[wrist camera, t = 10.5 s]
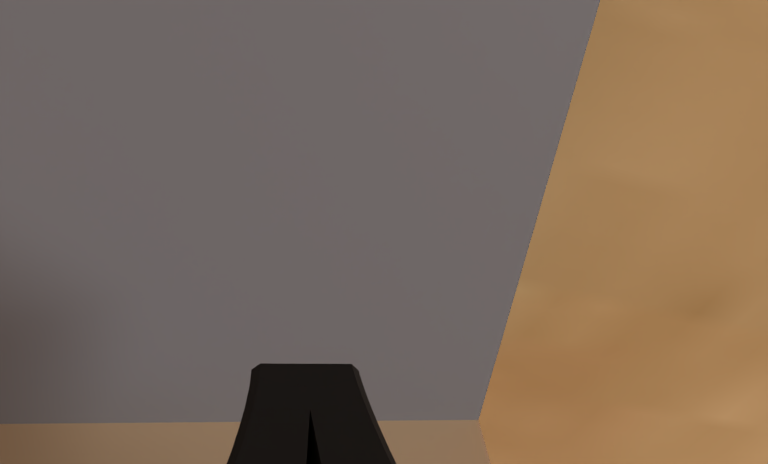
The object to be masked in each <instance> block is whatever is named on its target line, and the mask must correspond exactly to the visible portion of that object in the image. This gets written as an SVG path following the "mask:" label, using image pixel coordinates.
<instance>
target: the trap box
mask: <svg viewBox="0 0 768 464" xmlns="http://www.w3.org/2000/svg"><path fill="white" fill-rule="evenodd" d="M599 2H600V0H0V464H227V461H228V459H229V456H230V454H231V451H232V448H233V445H234V441H235V438H236V435H237V432H238V429H239V426H240V423H241V419H242V416H243V412H244V408H245V404H246V400H247V395H248V391H249V385H250V377H251V370H252V369H253V368H255V367H256V366H257V365H259V364H260V363H271V364H352V365H353V366H354V367H355V368H357V369H358V370H359V374H360V377H361V380H362V383H363V386H364V389H365V392H366V394H367V397H368V400H369V402H370V405H371V408H372V410H373V413H374V415H375V417H376V420H377V422H378V425H379V427H380V429H381V431H382V434H383V436H384V438H385V440H386V443H387V445H388V447H389V449H390V451H391V453H392V456H393V458H394V460H395V462H396V464H491V463H490V460H489V456H488V453H487V449H486V445H485V442H484V438H483V435H482V431H481V428H480V424H479V421H478V419H479V416H480V412H481V409H482V405H483V402H484V399H485V395H486V392H487V388H488V385H489V381H490V378H491V374H492V371H493V367H494V364H495V361H496V357H497V354H498V350H499V347H500V343H501V340H502V336H503V333H504V330H505V326H506V323H507V319H508V316H509V312H510V309H511V305H512V302H513V299H514V295H515V292H516V288H517V285H518V281H519V278H520V274H521V271H522V268H523V264H524V261H525V257H526V254H527V250H528V247H529V243H530V240H531V237H532V233H533V230H534V226H535V223H536V219H537V216H538V212H539V209H540V206H541V202H542V199H543V195H544V192H545V188H546V185H547V181H548V178H549V175H550V171H551V168H552V164H553V161H554V157H555V154H556V150H557V147H558V143H559V140H560V137H561V133H562V130H563V126H564V123H565V119H566V116H567V112H568V109H569V106H570V102H571V99H572V95H573V92H574V88H575V85H576V81H577V78H578V75H579V71H580V68H581V64H582V61H583V57H584V54H585V50H586V47H587V44H588V40H589V37H590V33H591V30H592V26H593V23H594V19H595V16H596V13H597V9H598V6H599Z"/></svg>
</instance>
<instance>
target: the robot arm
mask: <svg viewBox="0 0 768 464" xmlns="http://www.w3.org/2000/svg"><path fill="white" fill-rule="evenodd" d="M227 464H396V462H395V460H394V458H393V456H392V453H391V451H390V449H389V447H388V445H387V443H386V440H385V438H384V436H383V434H382V431H381V429H380V427H379V425H378V422H377V420H376V417H375V415H374V413H373V410H372V408H371V405H370V402H369V400H368V397H367V394H366V392H365V389H364V386H363V383H362V380H361V377H360V374H359V370H358V369H357V368H355V367H354V366H353V365H352V364H271V363H260V364H259V365H257V366H256V367H255V368H253V369H252V370H251V377H250V385H249V391H248V395H247V400H246V404H245V408H244V412H243V416H242V419H241V423H240V426H239V429H238V432H237V435H236V438H235V441H234V445H233V448H232V451H231V454H230V456H229V459H228V461H227Z"/></svg>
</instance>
